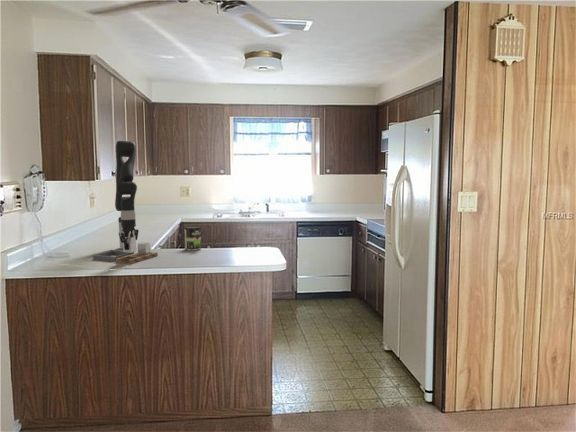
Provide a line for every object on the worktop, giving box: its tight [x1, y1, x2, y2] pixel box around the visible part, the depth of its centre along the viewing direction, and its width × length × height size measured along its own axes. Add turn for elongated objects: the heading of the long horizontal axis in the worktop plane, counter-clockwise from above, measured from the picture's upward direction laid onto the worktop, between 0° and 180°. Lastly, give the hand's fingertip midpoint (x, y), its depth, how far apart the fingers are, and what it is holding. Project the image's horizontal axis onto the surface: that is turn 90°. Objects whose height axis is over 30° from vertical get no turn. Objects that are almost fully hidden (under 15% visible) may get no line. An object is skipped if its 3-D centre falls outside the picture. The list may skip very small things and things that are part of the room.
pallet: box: [115, 251, 159, 266], centre depth 266 cm, size 22×11×3 cm, turn 158°
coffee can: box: [183, 225, 202, 251], centre depth 299 cm, size 10×10×14 cm
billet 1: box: [122, 236, 137, 253], centre depth 259 cm, size 4×6×8 cm
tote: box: [92, 249, 135, 263], centre depth 270 cm, size 16×16×4 cm
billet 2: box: [137, 241, 151, 255], centre depth 271 cm, size 4×6×8 cm
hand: (129, 249), depth 260 cm, fingers closed on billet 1, 4 cm apart
